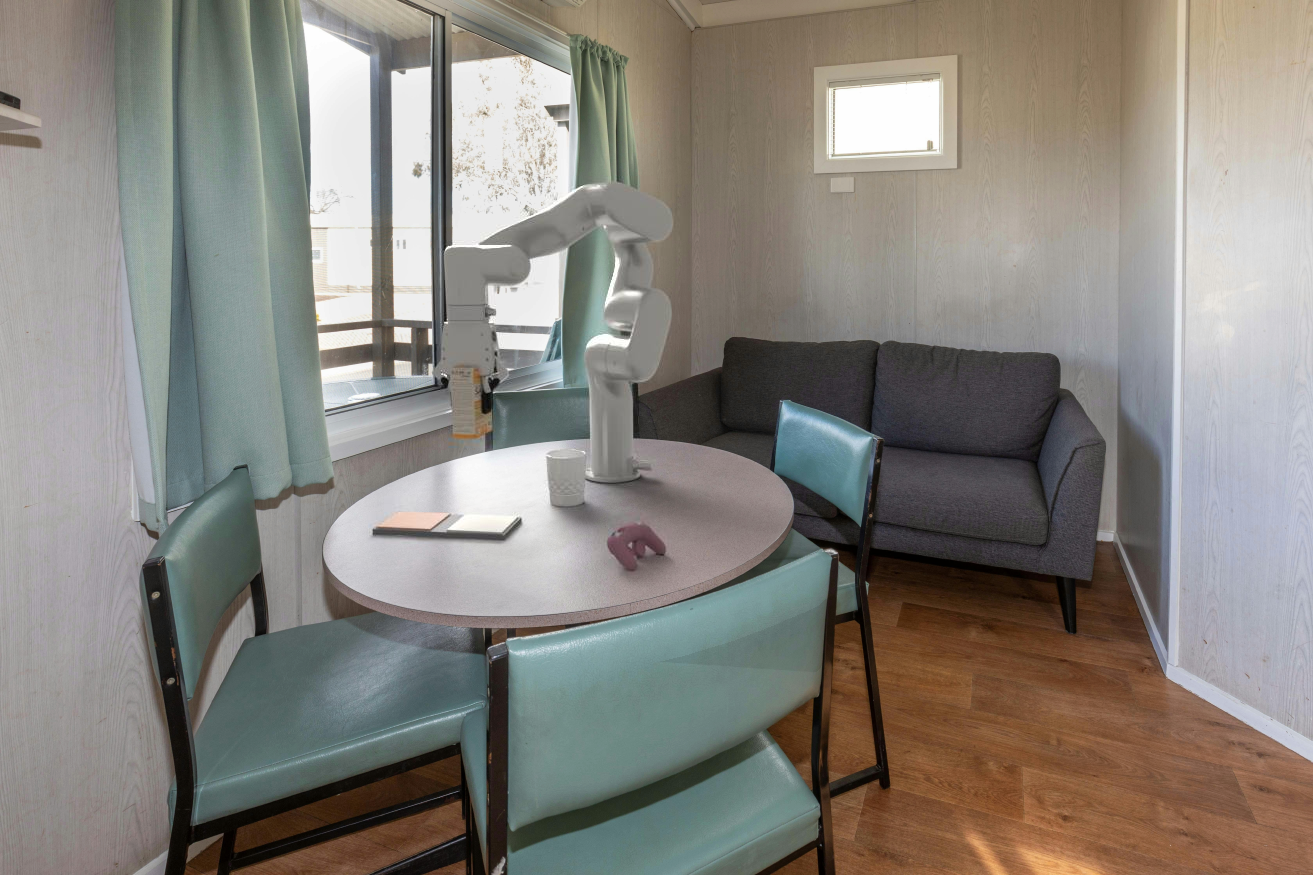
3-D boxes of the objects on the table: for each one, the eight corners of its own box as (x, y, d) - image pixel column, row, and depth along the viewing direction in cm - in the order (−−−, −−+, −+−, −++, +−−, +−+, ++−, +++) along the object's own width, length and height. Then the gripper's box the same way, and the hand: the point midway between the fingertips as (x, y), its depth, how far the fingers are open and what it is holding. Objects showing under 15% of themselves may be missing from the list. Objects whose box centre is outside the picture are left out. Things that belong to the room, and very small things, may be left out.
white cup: (593, 498, 162) (592, 450, 160) (576, 509, 155) (575, 459, 153) (558, 495, 165) (556, 447, 163) (540, 505, 158) (538, 456, 156)
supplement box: (476, 439, 147) (473, 368, 144) (452, 438, 148) (448, 368, 145) (494, 431, 155) (491, 363, 152) (471, 430, 156) (467, 362, 153)
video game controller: (649, 558, 133) (634, 519, 134) (670, 551, 131) (654, 512, 131) (614, 577, 125) (597, 536, 126) (635, 570, 123) (618, 528, 123)
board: (521, 522, 147) (521, 515, 147) (504, 540, 137) (503, 533, 137) (398, 516, 150) (398, 510, 150) (372, 534, 141) (372, 527, 140)
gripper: (519, 314, 149) (522, 410, 153) (432, 313, 151) (437, 408, 155) (506, 316, 142) (510, 417, 146) (415, 315, 144) (421, 414, 148)
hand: (472, 411), depth 150 cm, fingers closed on supplement box, 5 cm apart
